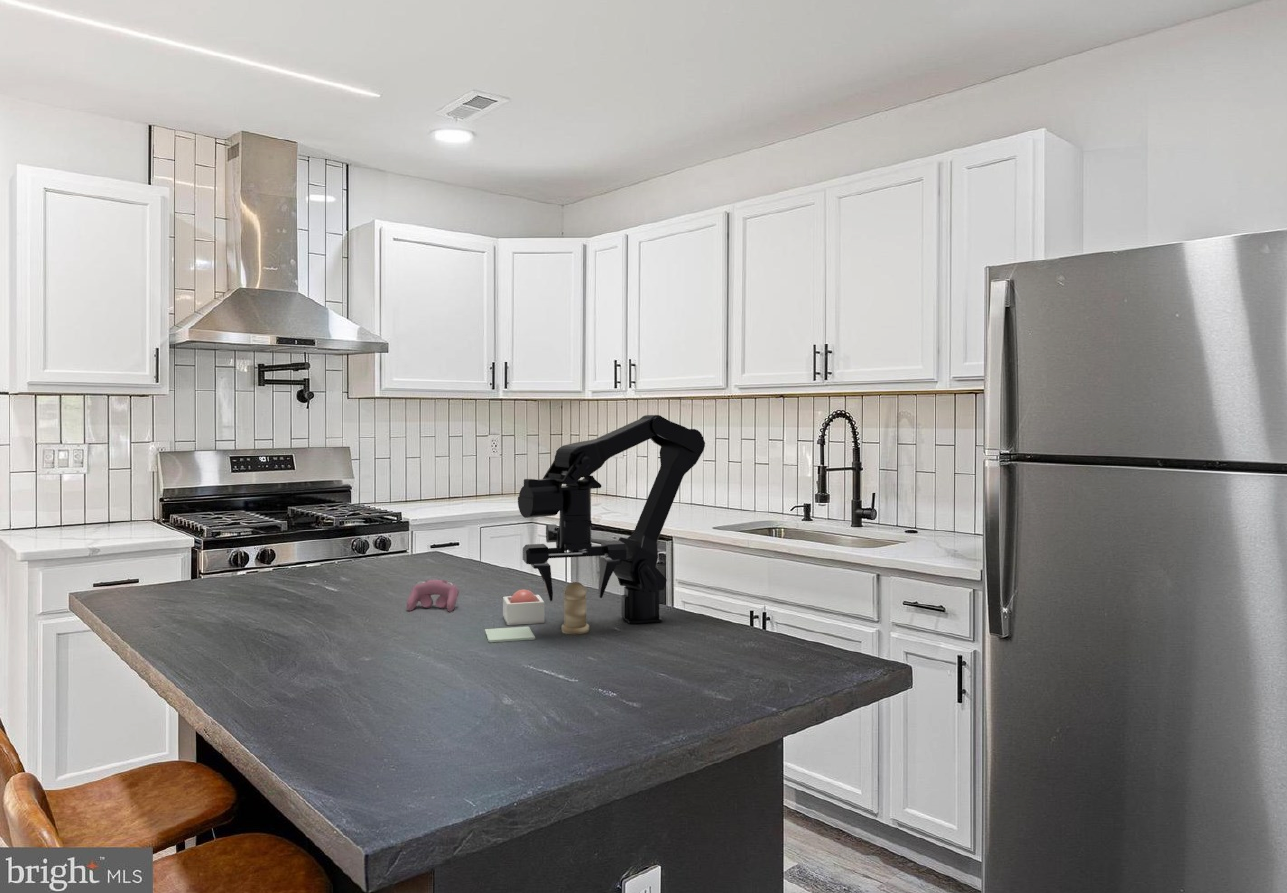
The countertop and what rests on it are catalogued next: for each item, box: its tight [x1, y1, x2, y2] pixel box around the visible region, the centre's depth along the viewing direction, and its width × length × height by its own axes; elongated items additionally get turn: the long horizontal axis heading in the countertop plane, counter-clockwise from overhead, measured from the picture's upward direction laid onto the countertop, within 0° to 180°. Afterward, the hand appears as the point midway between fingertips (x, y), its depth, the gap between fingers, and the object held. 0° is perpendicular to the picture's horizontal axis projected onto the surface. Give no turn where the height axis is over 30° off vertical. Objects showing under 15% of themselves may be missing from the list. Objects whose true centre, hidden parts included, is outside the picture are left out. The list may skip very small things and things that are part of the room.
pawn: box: [561, 581, 590, 636], centre depth 155 cm, size 5×5×9 cm
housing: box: [502, 594, 545, 626], centre depth 164 cm, size 7×7×4 cm
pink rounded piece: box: [510, 588, 536, 603], centre depth 164 cm, size 5×5×5 cm
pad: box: [484, 626, 536, 643], centre depth 152 cm, size 8×8×1 cm
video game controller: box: [406, 579, 460, 613], centre depth 174 cm, size 10×5×7 cm, turn 84°
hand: (575, 599), depth 155 cm, fingers open, 9 cm apart
